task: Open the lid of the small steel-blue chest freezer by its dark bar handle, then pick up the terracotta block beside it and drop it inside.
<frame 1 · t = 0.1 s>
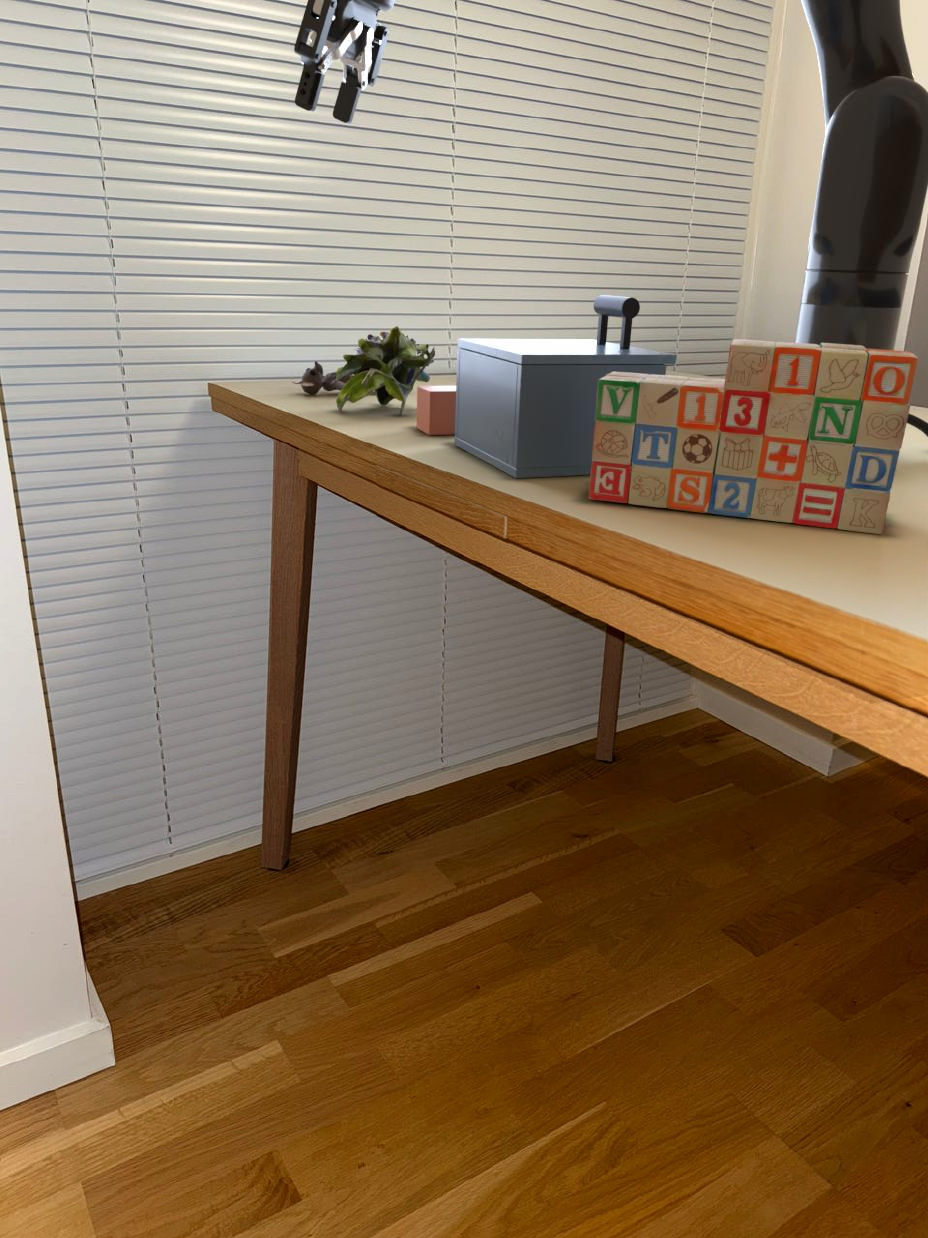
hand: (323, 114, 101), 31 cm above the table, tool tilted 20°, fingers open, 8 cm apart
bear figurine: (348, 394, 125), on the table
freezer lid: (562, 325, 84), point 12 cm above the table, hinge at 0.0°
stack of blocks: (731, 510, 71), on the table
freezer: (549, 457, 88), on the table
passion flower: (387, 412, 112), on the table
block: (442, 431, 100), on the table
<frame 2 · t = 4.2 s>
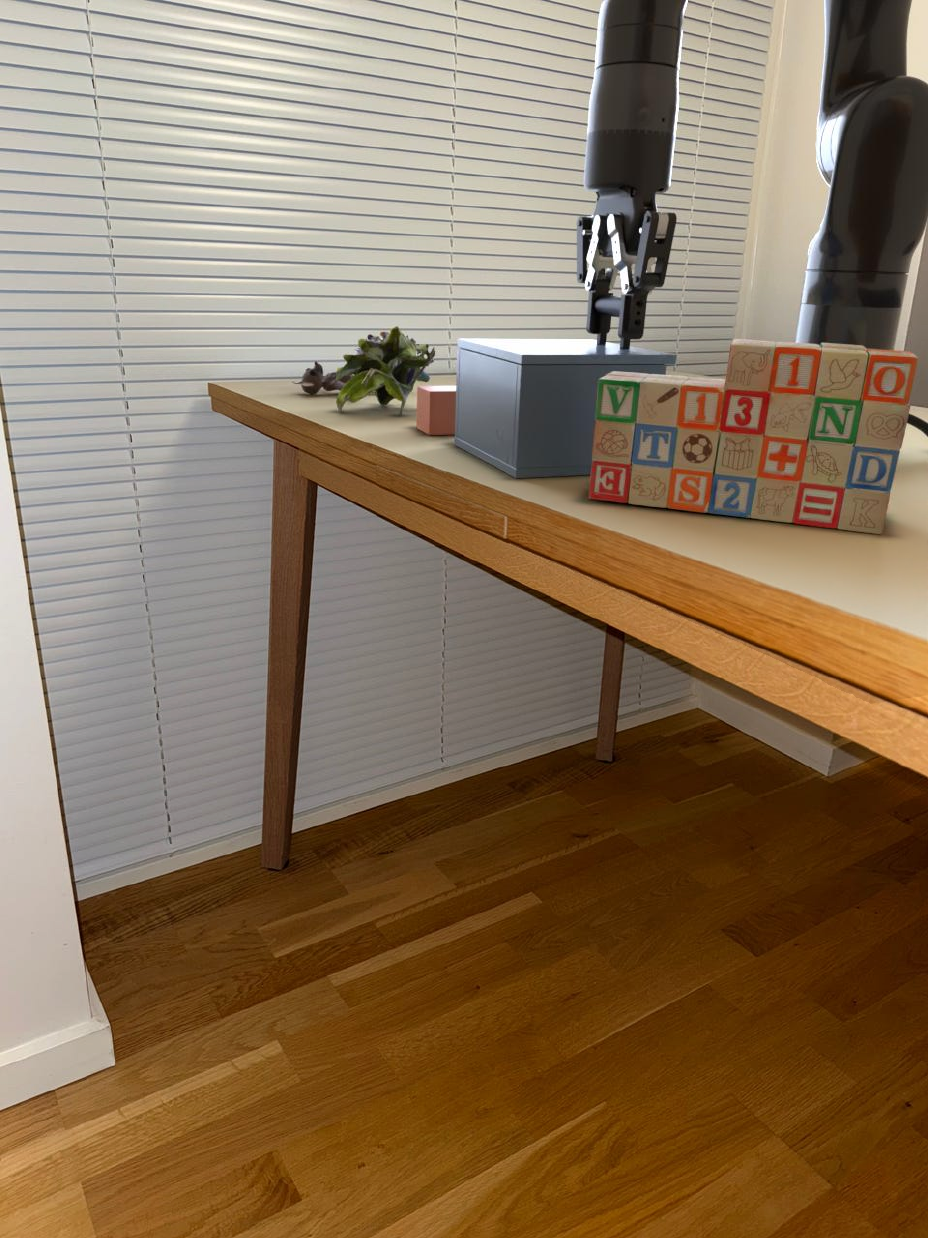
hand: (613, 335, 86), 11 cm above the table, tool pointing down, fingers closed on freezer lid, 5 cm apart
freezer lid: (562, 325, 84), point 12 cm above the table, hinge at 0.0°, touching gripper
everything else where it was.
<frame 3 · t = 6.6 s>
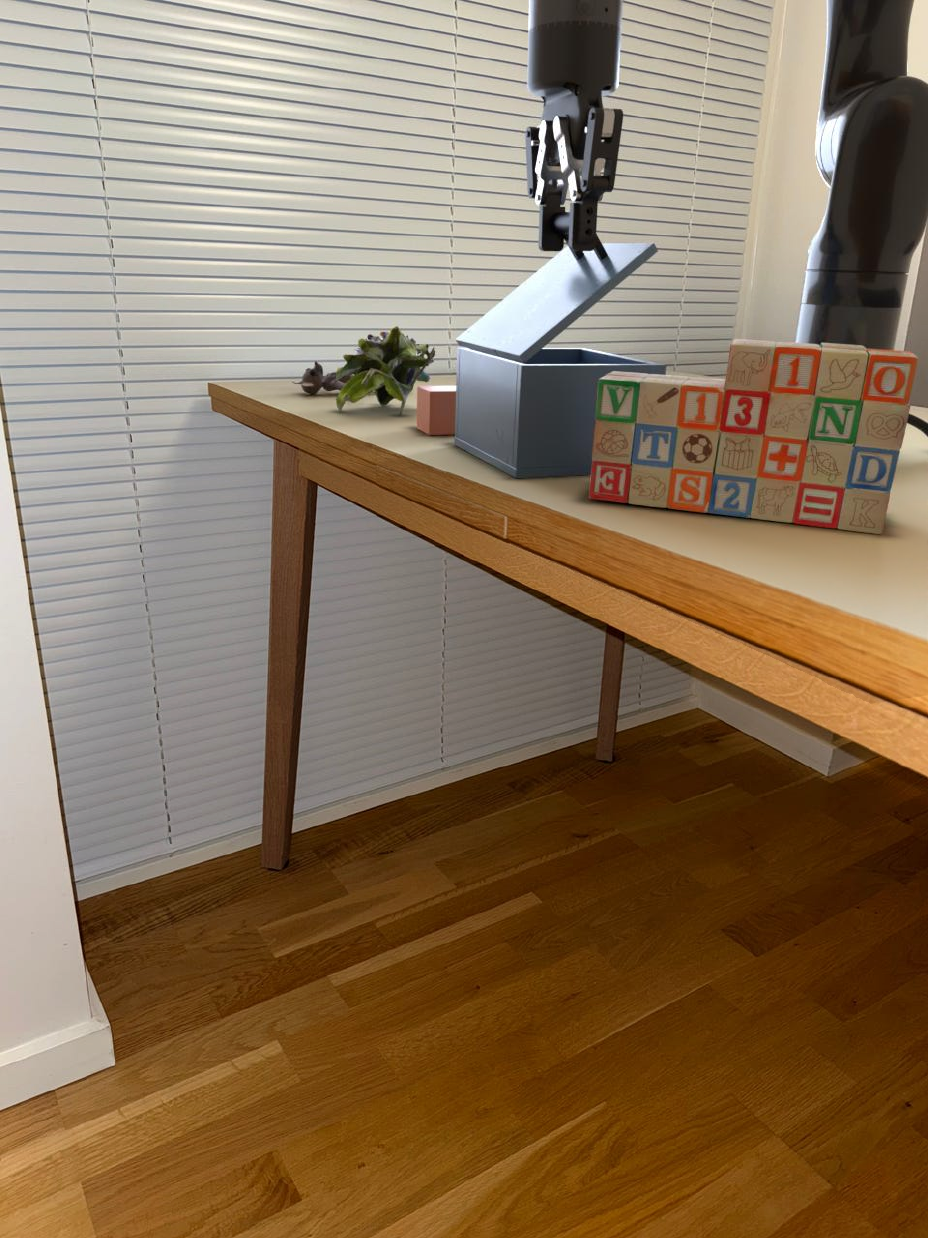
hand: (565, 250, 81), 18 cm above the table, tool pointing down, fingers closed on freezer lid, 5 cm apart
freezer lid: (536, 277, 81), point 16 cm above the table, hinge at 37.9°, touching gripper
everything else where it was.
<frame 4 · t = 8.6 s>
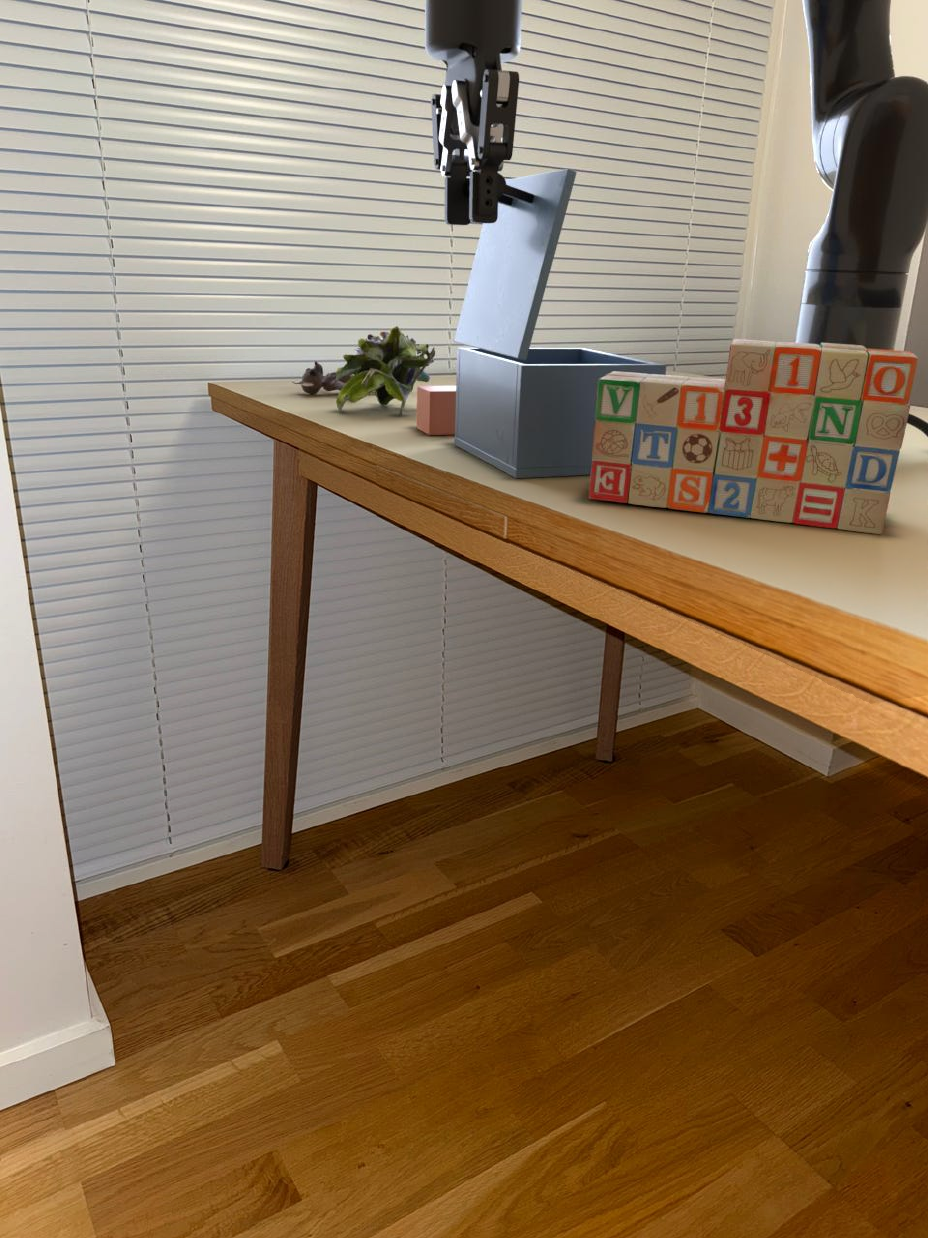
hand: (469, 222, 78), 20 cm above the table, tool pointing down, fingers closed on freezer lid, 5 cm apart
freezer lid: (485, 258, 79), point 17 cm above the table, hinge at 76.4°, touching gripper
everything else where it was.
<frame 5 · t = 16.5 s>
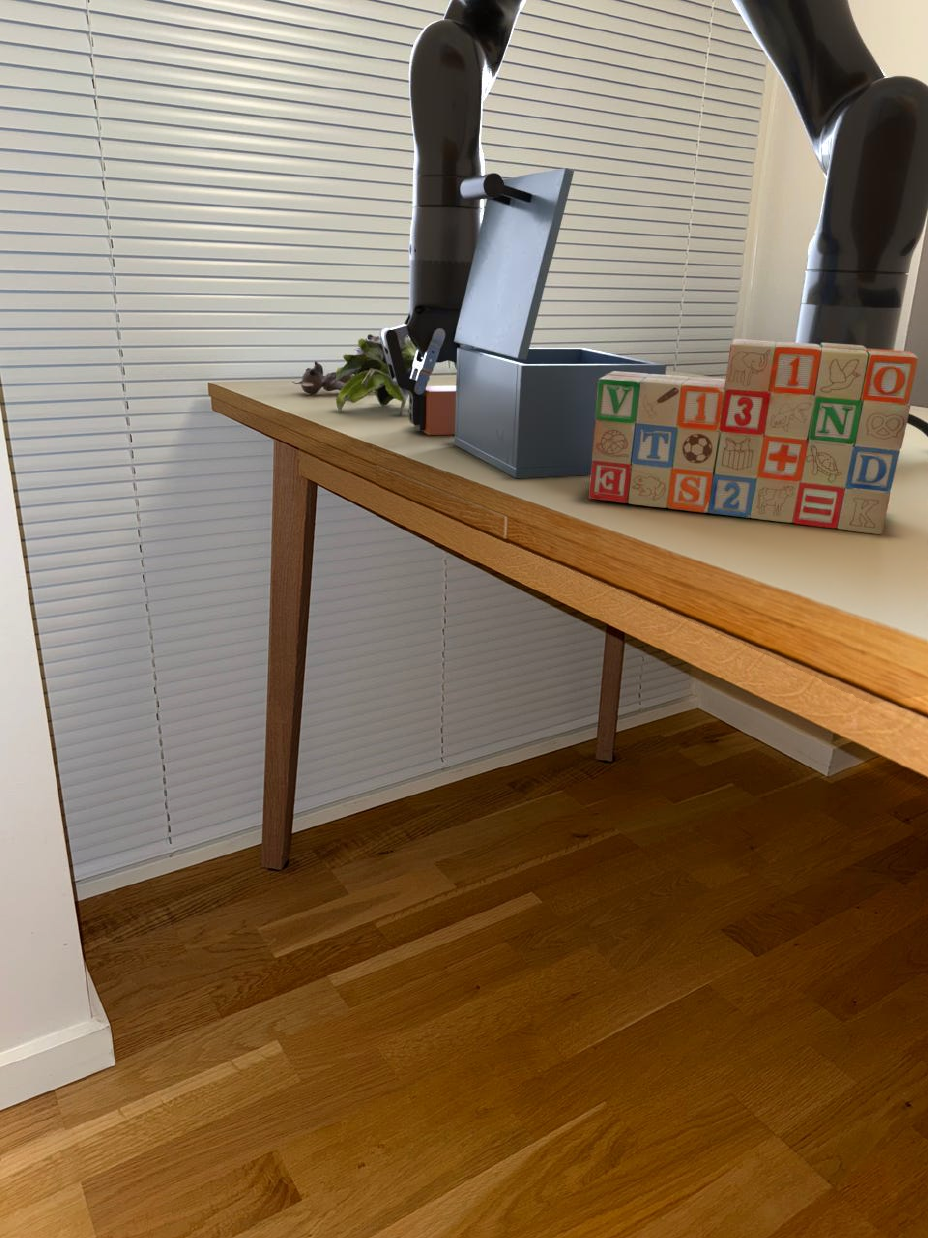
hand: (442, 427, 100), 0 cm above the table, tool pointing down, fingers closed on block, 4 cm apart
freezer lid: (484, 258, 79), point 17 cm above the table, hinge at 77.3°
block: (442, 431, 100), on the table, touching gripper
everything else where it was.
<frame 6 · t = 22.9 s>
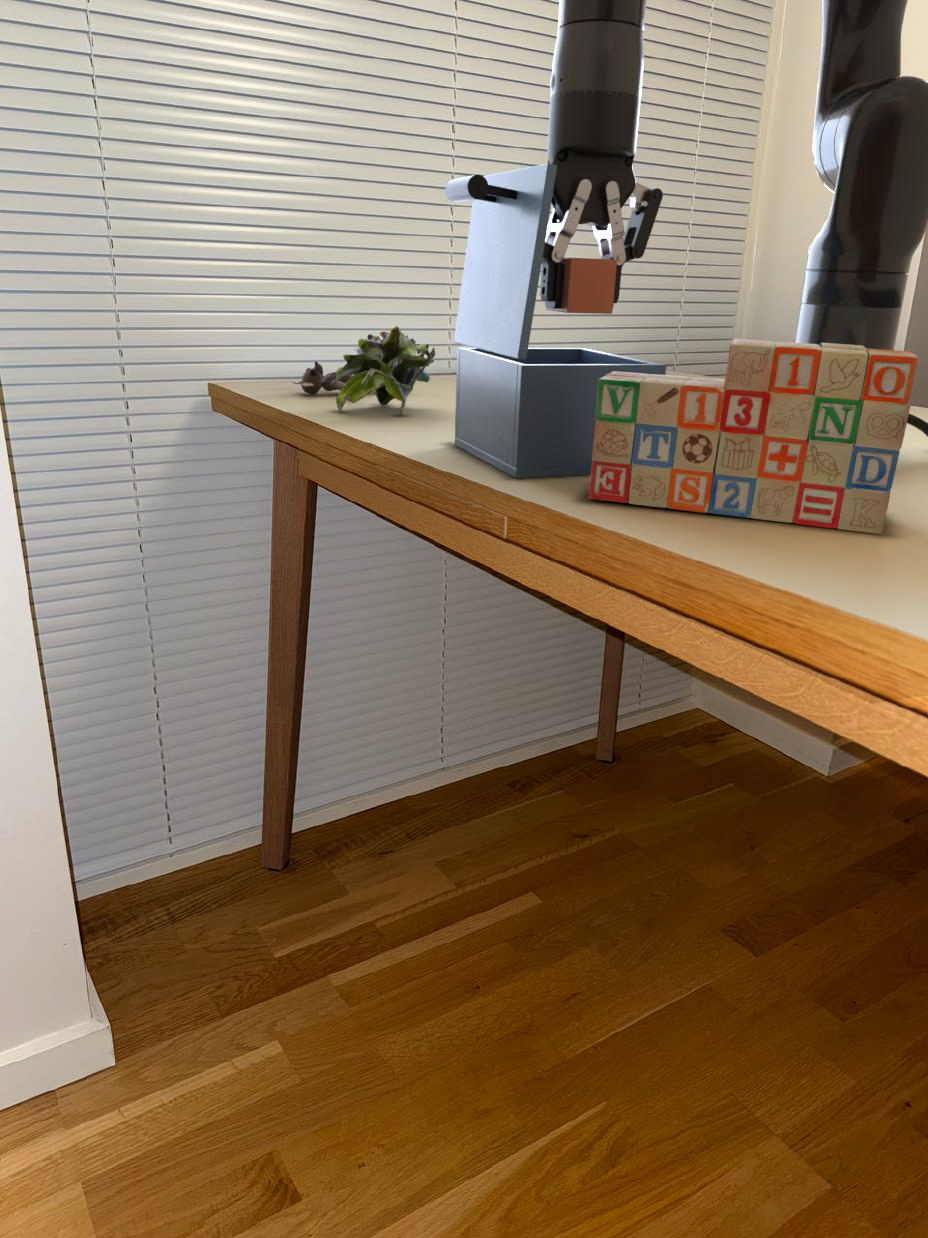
hand: (579, 307, 84), 13 cm above the table, tool pointing down, fingers closed on block, 4 cm apart
freezer lid: (476, 259, 79), point 17 cm above the table, hinge at 83.3°
block: (578, 311, 84), point 13 cm above the table, touching gripper
everything else where it was.
when the fingers open (9 cm above the table, at t = 24.6 s): block drops 8 cm, resting on freezer.
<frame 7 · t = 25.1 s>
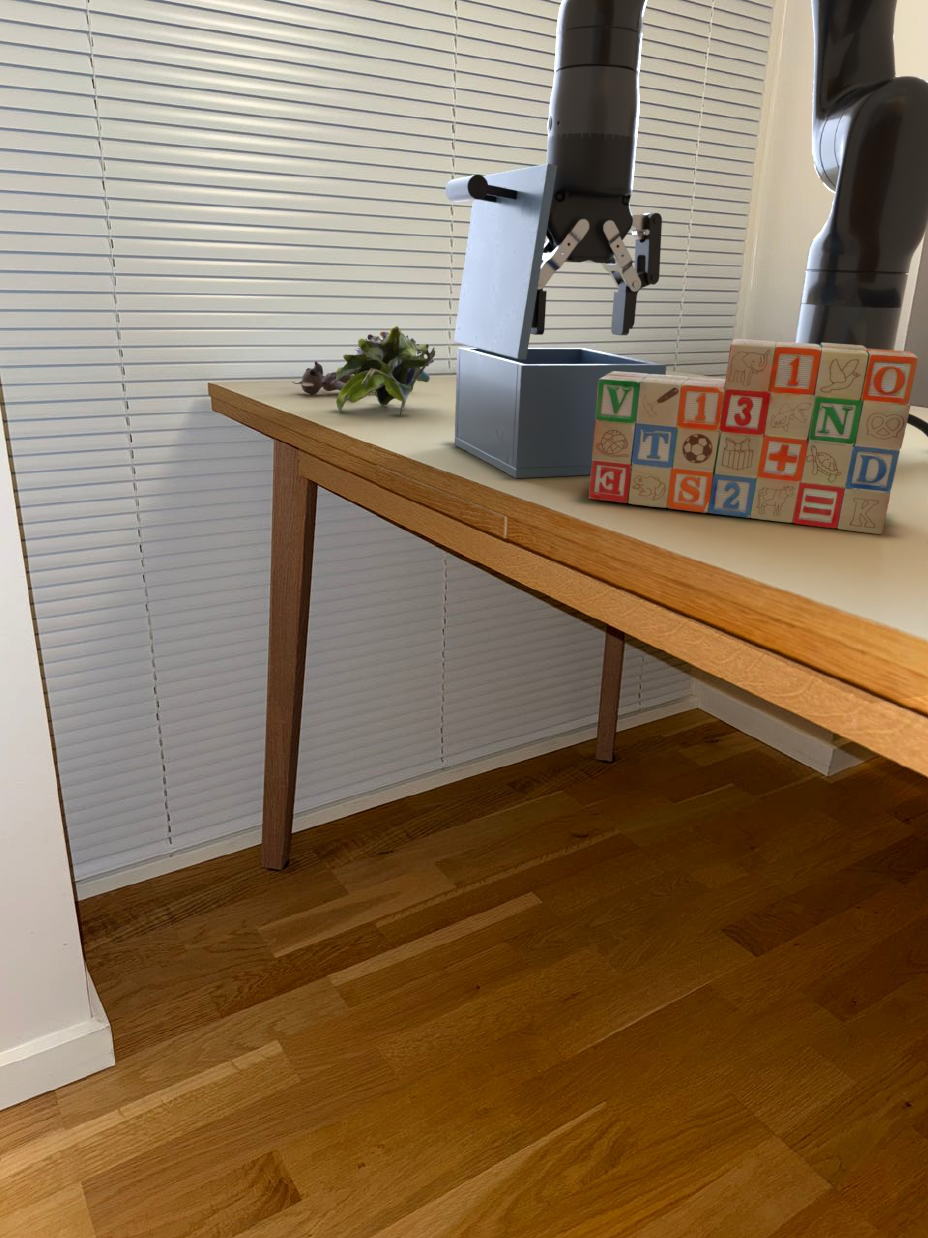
hand: (578, 334, 85), 11 cm above the table, tool pointing down, fingers open, 8 cm apart
block: (569, 448, 88), point 1 cm above the table, touching freezer
everything else where it was.
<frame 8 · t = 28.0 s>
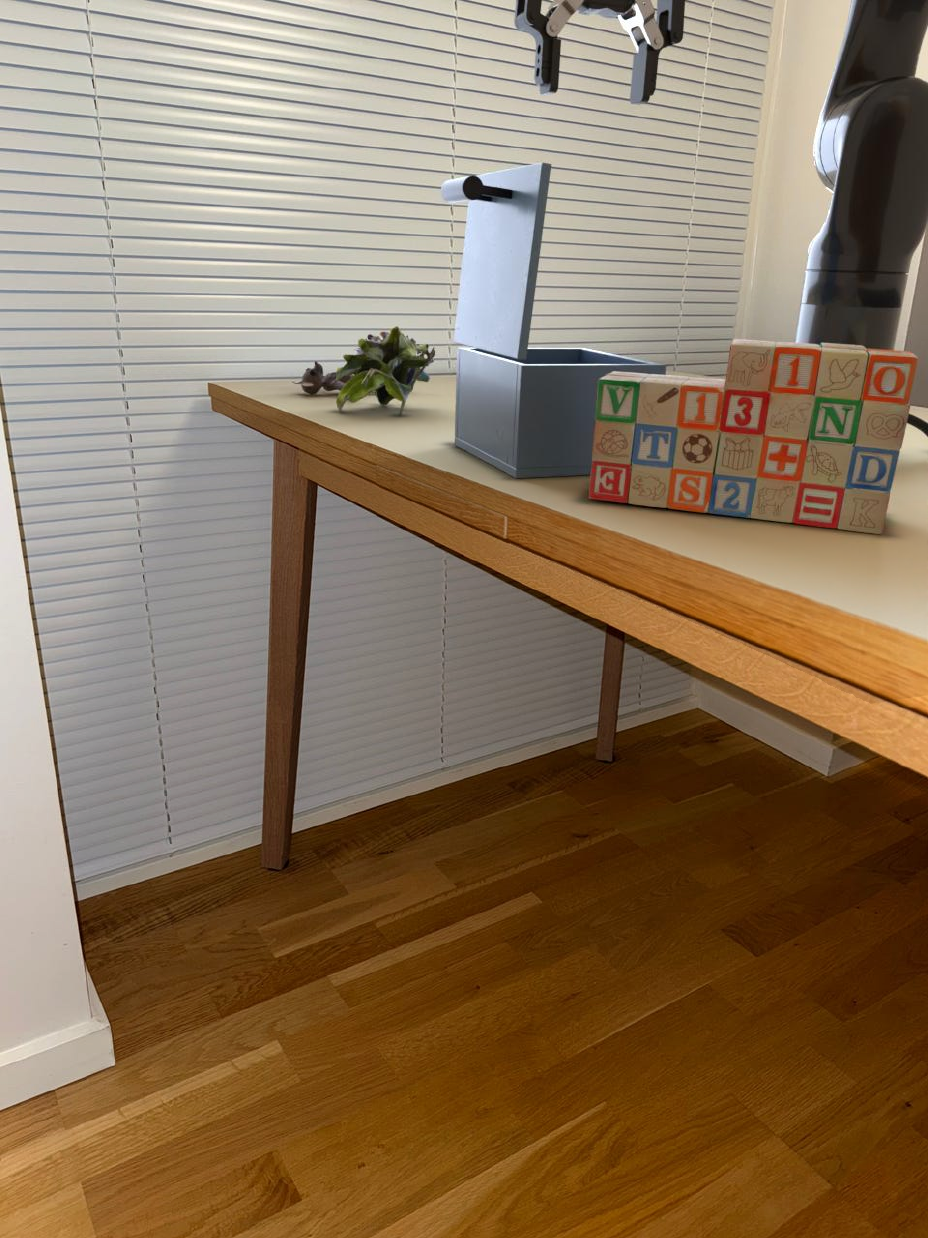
hand: (595, 98, 78), 30 cm above the table, tool pointing down, fingers open, 8 cm apart
freezer lid: (473, 259, 79), point 17 cm above the table, hinge at 85.1°
everything else where it was.
at the end: freezer lid at +85° (first picture: +0°); block inside the target area in the freezer (2.0 cm from its centre), point 0.8 cm above the freezer's base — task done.
